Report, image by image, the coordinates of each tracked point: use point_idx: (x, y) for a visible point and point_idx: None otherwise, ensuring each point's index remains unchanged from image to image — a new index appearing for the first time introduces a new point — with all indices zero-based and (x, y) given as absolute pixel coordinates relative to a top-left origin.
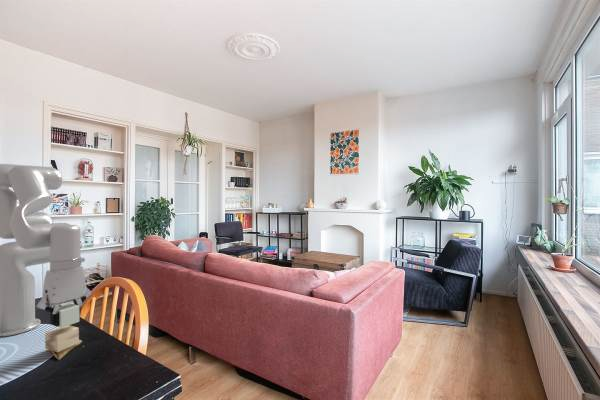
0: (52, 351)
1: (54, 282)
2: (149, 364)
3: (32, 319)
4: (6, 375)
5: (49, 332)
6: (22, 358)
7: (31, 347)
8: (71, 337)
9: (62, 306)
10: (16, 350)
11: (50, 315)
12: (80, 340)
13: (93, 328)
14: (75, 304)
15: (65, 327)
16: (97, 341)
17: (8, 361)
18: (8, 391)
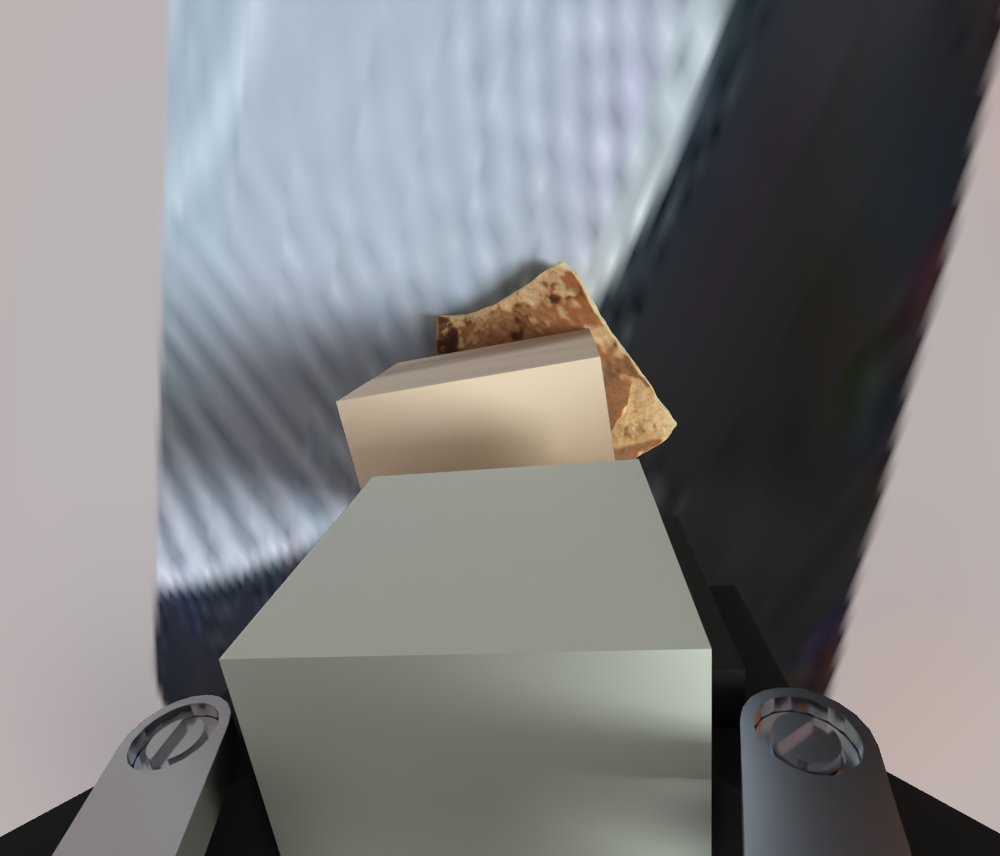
0: None
1: None
2: None
3: None
4: (162, 497)
5: (371, 443)
6: (263, 305)
7: (355, 102)
8: None
9: (444, 722)
10: (246, 45)
11: (227, 696)
12: (667, 427)
13: (955, 146)
14: (724, 845)
15: (547, 452)
16: (754, 525)
17: (180, 264)
18: (164, 687)
